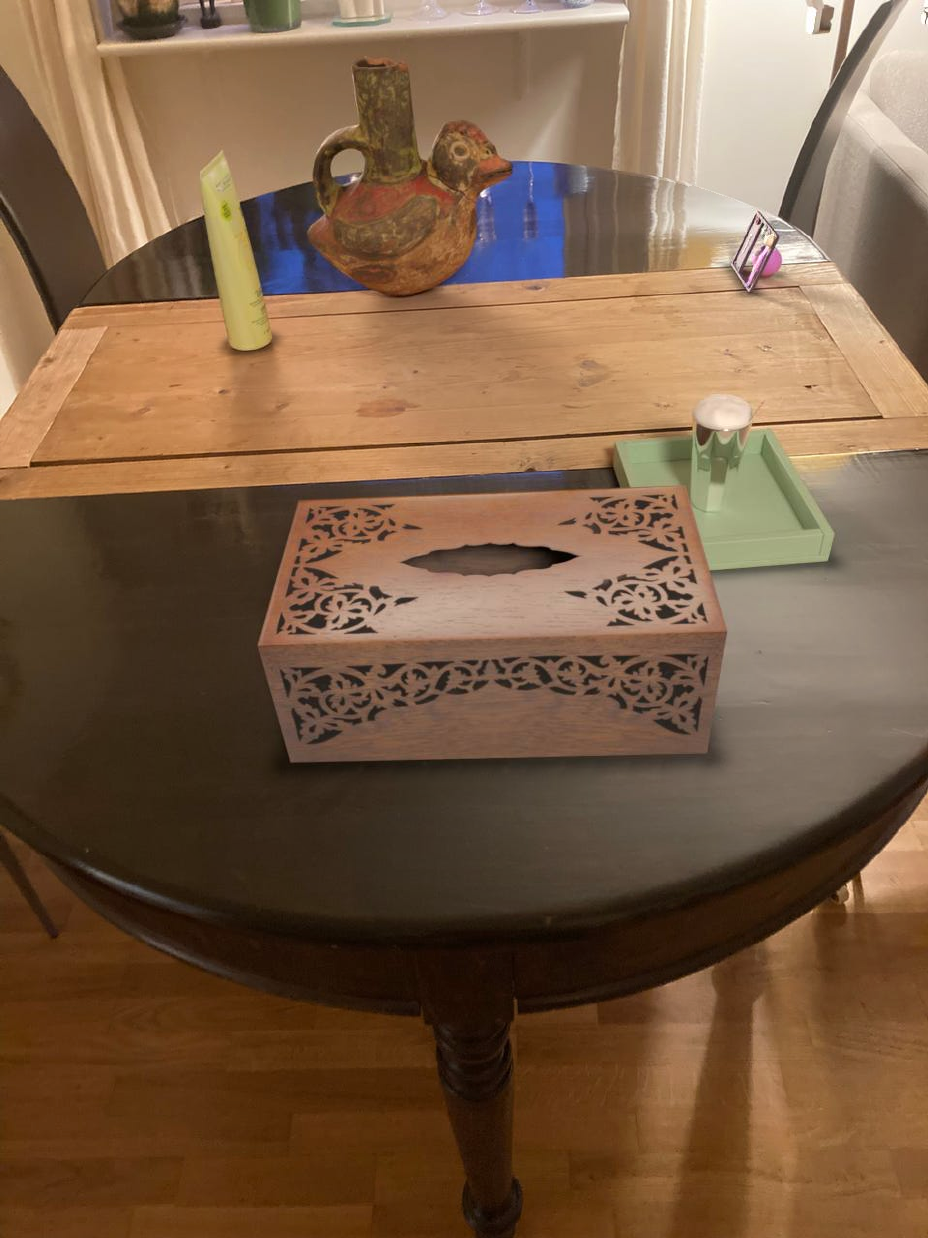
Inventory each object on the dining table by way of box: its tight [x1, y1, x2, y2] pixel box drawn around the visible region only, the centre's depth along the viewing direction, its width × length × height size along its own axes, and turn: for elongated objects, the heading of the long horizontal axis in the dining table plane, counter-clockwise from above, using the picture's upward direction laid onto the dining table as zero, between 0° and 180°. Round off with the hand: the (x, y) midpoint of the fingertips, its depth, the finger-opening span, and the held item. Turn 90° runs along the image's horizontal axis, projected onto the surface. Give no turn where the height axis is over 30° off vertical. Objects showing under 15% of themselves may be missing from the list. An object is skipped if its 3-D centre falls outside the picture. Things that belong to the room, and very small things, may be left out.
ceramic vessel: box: [306, 55, 514, 296], centre depth 107 cm, size 17×26×25 cm, turn 80°
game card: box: [730, 210, 783, 294], centre depth 109 cm, size 7×5×9 cm
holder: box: [612, 428, 836, 571], centre depth 75 cm, size 14×16×3 cm
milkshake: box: [691, 392, 766, 512], centre depth 72 cm, size 4×5×10 cm
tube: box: [199, 149, 273, 352], centre depth 99 cm, size 6×5×20 cm
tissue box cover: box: [257, 485, 728, 763], centre depth 59 cm, size 26×14×10 cm, turn 89°
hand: (875, 28), depth 74 cm, fingers open, 8 cm apart
